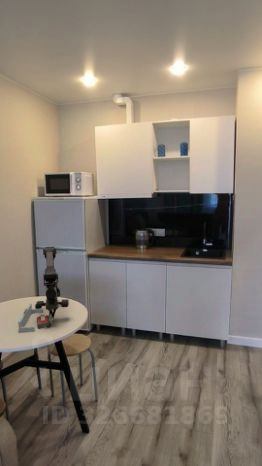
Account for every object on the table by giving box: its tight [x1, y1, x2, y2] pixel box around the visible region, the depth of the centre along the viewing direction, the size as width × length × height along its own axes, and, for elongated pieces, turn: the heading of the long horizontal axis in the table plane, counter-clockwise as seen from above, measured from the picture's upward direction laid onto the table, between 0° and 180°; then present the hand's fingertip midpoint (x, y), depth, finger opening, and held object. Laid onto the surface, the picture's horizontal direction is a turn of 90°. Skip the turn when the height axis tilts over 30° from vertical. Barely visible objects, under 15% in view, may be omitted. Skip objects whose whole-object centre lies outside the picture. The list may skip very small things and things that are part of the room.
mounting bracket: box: [17, 303, 44, 333], centre depth 186 cm, size 26×8×7 cm, turn 5°
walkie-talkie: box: [36, 311, 53, 330], centre depth 186 cm, size 9×4×20 cm
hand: (53, 317), depth 187 cm, fingers closed
